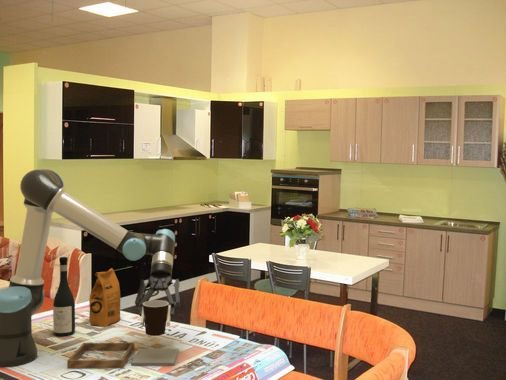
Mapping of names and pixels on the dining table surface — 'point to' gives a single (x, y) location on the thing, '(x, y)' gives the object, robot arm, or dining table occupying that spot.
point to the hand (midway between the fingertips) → (155, 324)
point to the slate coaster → (155, 357)
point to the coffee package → (105, 300)
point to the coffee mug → (155, 317)
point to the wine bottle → (63, 304)
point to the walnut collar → (105, 363)
